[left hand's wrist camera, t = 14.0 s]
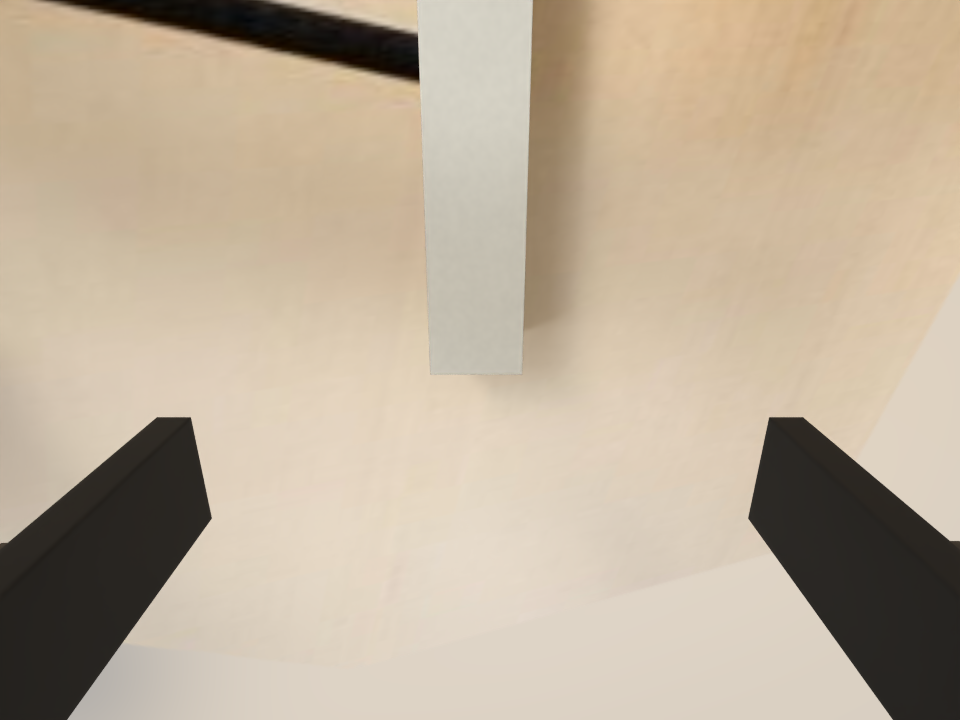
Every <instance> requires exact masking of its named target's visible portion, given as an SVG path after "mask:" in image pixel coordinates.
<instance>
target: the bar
mask: <svg viewBox="0 0 960 720" xmlns="http://www.w3.org/2000/svg"><path fill="white" fill-rule="evenodd" d="M417 13H418V41H419V70H420V98H421V126H422V155H423V183H424V212H425V240H426V269H427V297H428V325H429V354H430V374H431V375H522V366H523V331H524V296H525V262H526V227H527V193H528V158H529V123H530V89H531V54H532V19H533V0H417Z"/></svg>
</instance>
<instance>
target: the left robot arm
mask: <svg viewBox="0 0 960 720" xmlns="http://www.w3.org/2000/svg"><path fill="white" fill-rule="evenodd" d="M211 519H212V517H211V512H210V508H209V503H208V498H207V493H206V488H205V484H204V479H203V474H202V469H201V464H200V460H199V455H198V450H197V445H196V440H195V435H194V431H193V426H192V421H191V417H157V418H156V419H155V420H153V421H152V422H151V423H150V424H149V425H147V426H146V427H145V428H144V429H143V430H141V431H140V432H139V433H138V434H137V435H136V436H134V437H133V438H132V439H131V440H130V441H128V442H127V443H126V444H125V445H124V446H122V447H121V448H120V449H119V450H118V451H117V452H115V453H114V454H113V455H112V456H111V457H109V458H108V459H107V460H106V461H105V462H103V463H102V464H101V465H100V466H99V467H98V468H96V469H95V470H94V471H93V472H92V473H90V474H89V475H88V476H87V477H86V478H84V479H83V480H82V481H81V482H80V483H79V484H77V485H76V486H75V487H74V488H73V489H71V490H70V491H69V492H68V493H67V494H65V495H64V496H63V497H62V498H61V499H60V500H58V501H57V502H56V503H55V504H54V505H52V506H51V507H50V508H49V509H48V510H46V511H45V512H44V513H43V514H42V515H41V516H39V517H38V518H37V519H36V520H35V521H33V522H32V523H31V524H30V525H29V526H27V527H26V528H25V529H24V530H23V531H22V532H20V533H19V534H18V535H17V536H16V537H14V538H13V539H12V540H11V541H10V542H8V543H1V544H0V720H67V719H68V718H69V716H70V715H71V713H72V712H73V711H74V709H75V708H76V706H77V705H78V704H79V702H80V701H81V700H82V698H83V697H84V695H85V694H86V693H87V691H88V690H89V688H90V687H91V686H92V684H93V683H94V681H95V680H96V679H97V677H98V676H99V675H100V673H101V672H102V670H103V669H104V668H105V666H106V665H107V663H108V662H109V661H110V659H111V658H112V656H113V655H114V654H115V652H116V651H117V649H118V648H119V647H120V645H121V644H122V643H123V641H124V640H125V638H126V637H127V636H128V634H129V633H130V631H131V630H132V629H133V627H134V626H135V624H136V623H137V622H138V620H139V619H140V618H141V616H142V615H143V613H144V612H145V611H146V609H147V608H148V606H149V605H150V604H151V602H152V601H153V599H154V598H155V597H156V595H157V594H158V592H159V591H160V590H161V588H162V587H163V586H164V584H165V583H166V581H167V580H168V579H169V577H170V576H171V574H172V573H173V572H174V570H175V569H176V567H177V566H178V565H179V563H180V562H181V561H182V559H183V558H184V556H185V555H186V554H187V552H188V551H189V549H190V548H191V547H192V545H193V544H194V542H195V541H196V540H197V538H198V537H199V535H200V534H201V533H202V531H203V530H204V529H205V527H206V526H207V524H208V523H209V522H210V520H211ZM748 519H749V520H750V522H751V523H752V524H753V526H754V527H755V529H756V530H757V531H758V533H759V534H760V535H761V537H762V538H763V540H764V541H765V542H766V544H767V545H768V547H769V548H770V549H771V551H772V552H773V554H774V555H775V556H776V558H777V559H778V561H779V562H780V563H781V565H782V566H783V567H784V569H785V570H786V572H787V573H788V574H789V576H790V577H791V579H792V580H793V581H794V583H795V584H796V586H797V587H798V588H799V590H800V591H801V592H802V594H803V595H804V597H805V598H806V599H807V601H808V602H809V604H810V605H811V606H812V608H813V609H814V611H815V612H816V613H817V615H818V616H819V618H820V619H821V620H822V622H823V623H824V624H825V626H826V627H827V629H828V630H829V631H830V633H831V634H832V636H833V637H834V638H835V640H836V641H837V642H838V644H839V645H840V647H841V648H842V649H843V651H844V652H845V654H846V655H847V656H848V658H849V659H850V661H851V662H852V663H853V665H854V666H855V668H856V669H857V670H858V672H859V673H860V674H861V676H862V677H863V679H864V680H865V681H866V683H867V684H868V686H869V687H870V688H871V690H872V691H873V693H874V694H875V695H876V697H877V698H878V700H879V701H880V702H881V704H882V705H883V707H884V708H885V709H886V711H887V712H888V713H889V715H890V716H891V718H892V719H893V720H960V541H949V540H948V539H947V538H946V537H944V536H943V535H942V534H941V533H940V532H938V531H937V530H936V529H935V528H934V527H933V526H931V525H930V524H929V523H928V522H927V521H925V520H924V519H923V518H922V517H921V516H919V515H918V514H917V513H916V512H915V511H914V510H912V509H911V508H910V507H909V506H908V505H906V504H905V503H904V502H903V501H902V500H900V499H899V498H898V497H897V496H896V495H895V494H893V493H892V492H891V491H890V490H889V489H887V488H886V487H885V486H884V485H883V484H881V483H880V482H879V481H878V480H877V479H875V478H874V477H873V476H872V475H871V474H870V473H868V472H867V471H866V470H865V469H864V468H862V467H861V466H860V465H859V464H858V463H857V462H855V461H854V460H853V459H852V458H851V457H849V456H848V455H847V454H846V453H845V452H843V451H842V450H841V449H840V448H839V447H838V446H836V445H835V444H834V443H833V442H832V441H830V440H829V439H828V438H827V437H826V436H824V435H823V434H822V433H821V432H820V431H819V430H817V429H816V428H815V427H814V426H813V425H811V424H810V423H809V422H808V421H807V420H805V419H804V418H803V417H769V421H768V426H767V431H766V435H765V440H764V445H763V450H762V455H761V460H760V464H759V469H758V474H757V479H756V484H755V488H754V493H753V498H752V503H751V508H750V512H749V517H748Z"/></svg>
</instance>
